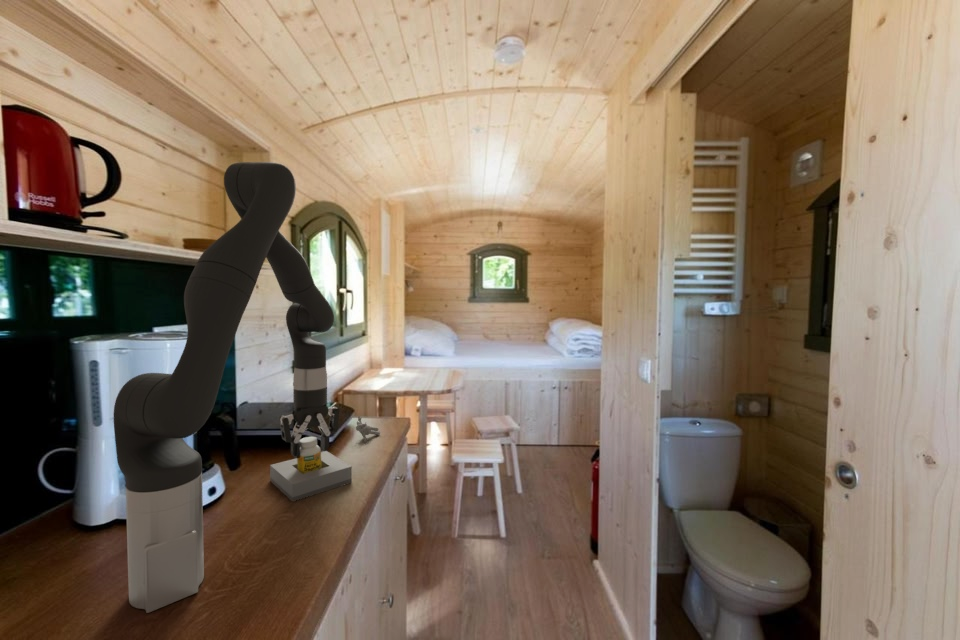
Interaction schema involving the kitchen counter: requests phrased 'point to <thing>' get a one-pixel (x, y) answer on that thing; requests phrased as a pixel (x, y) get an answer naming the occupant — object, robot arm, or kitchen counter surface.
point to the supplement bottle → (309, 455)
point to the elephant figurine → (366, 429)
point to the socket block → (310, 477)
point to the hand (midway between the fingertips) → (310, 453)
